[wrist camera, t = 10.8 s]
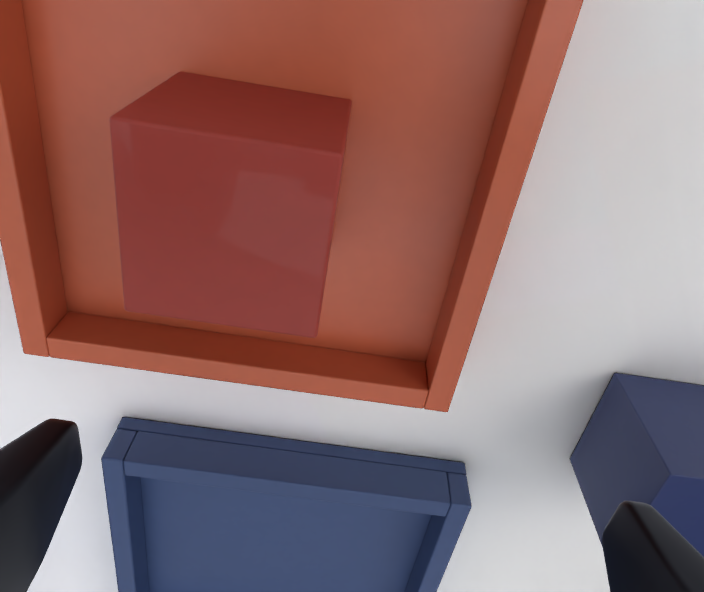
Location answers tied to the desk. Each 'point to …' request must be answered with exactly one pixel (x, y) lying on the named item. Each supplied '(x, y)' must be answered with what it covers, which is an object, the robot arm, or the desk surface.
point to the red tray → (355, 186)
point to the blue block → (646, 453)
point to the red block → (228, 201)
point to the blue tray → (275, 513)
